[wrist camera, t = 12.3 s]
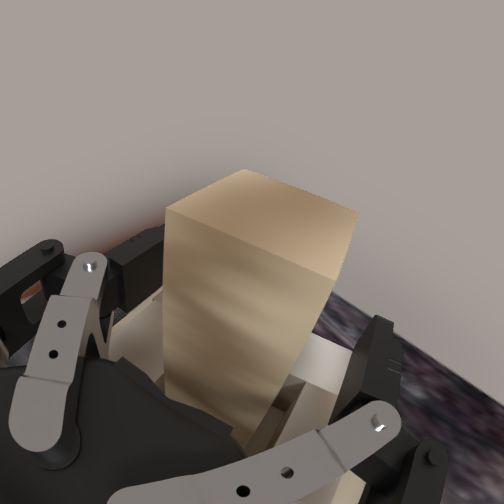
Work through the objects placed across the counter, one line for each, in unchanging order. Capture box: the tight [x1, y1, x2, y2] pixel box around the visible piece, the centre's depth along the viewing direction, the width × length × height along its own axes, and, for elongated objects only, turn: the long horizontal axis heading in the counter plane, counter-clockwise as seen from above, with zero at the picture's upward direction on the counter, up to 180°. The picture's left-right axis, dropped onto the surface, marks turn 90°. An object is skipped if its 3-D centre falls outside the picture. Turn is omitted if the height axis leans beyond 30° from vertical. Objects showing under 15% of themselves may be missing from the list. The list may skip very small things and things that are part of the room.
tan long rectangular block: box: [163, 169, 359, 449], centre depth 12 cm, size 4×5×14 cm
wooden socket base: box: [109, 286, 366, 504], centre depth 15 cm, size 20×18×6 cm
